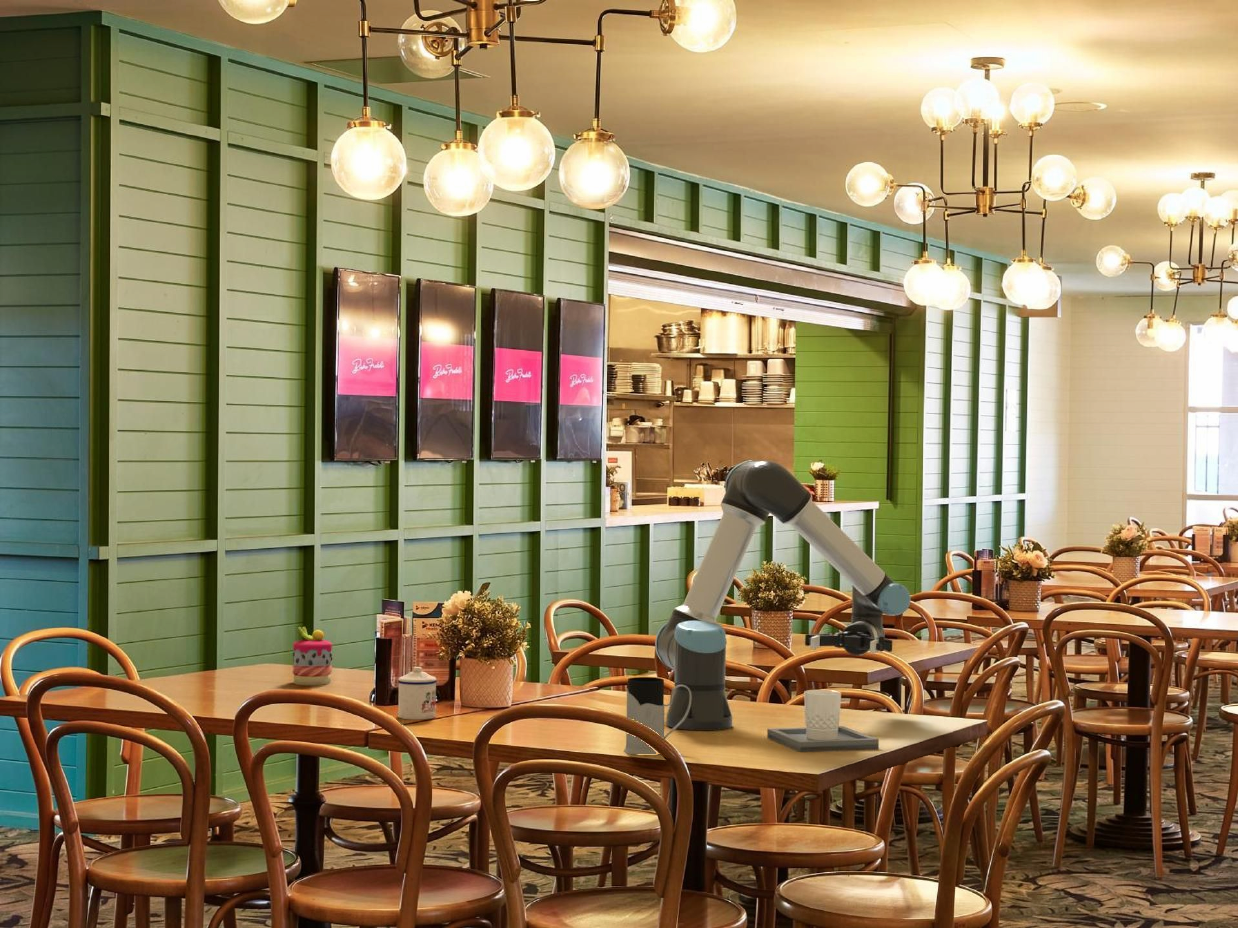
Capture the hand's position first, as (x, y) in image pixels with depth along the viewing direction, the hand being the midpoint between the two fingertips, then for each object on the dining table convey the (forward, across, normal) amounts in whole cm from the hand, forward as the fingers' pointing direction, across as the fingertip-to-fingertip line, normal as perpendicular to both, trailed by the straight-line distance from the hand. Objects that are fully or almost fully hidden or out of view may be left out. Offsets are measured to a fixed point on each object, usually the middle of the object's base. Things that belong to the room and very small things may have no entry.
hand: (841, 645), depth 359 cm
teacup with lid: (+18, +96, -22) cm, 100 cm away
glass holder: (+41, +30, -21) cm, 55 cm away
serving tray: (+17, 0, -20) cm, 26 cm away
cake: (-23, +148, -22) cm, 151 cm away
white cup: (+17, 0, -19) cm, 25 cm away
